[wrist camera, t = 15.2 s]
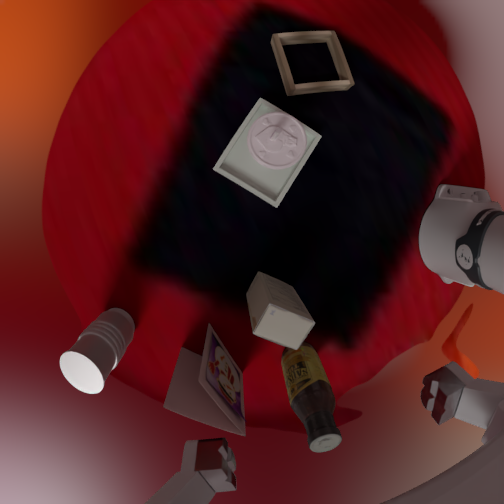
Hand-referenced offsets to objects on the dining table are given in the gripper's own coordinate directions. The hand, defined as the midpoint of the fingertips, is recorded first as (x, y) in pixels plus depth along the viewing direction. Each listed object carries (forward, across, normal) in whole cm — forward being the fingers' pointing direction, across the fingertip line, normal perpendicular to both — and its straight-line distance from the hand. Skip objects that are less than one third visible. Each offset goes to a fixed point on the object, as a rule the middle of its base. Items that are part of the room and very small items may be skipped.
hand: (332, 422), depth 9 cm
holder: (+33, +14, +26) cm, 44 cm away
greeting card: (+33, -12, -16) cm, 39 cm away
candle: (+33, -26, -7) cm, 43 cm away
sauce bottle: (+33, +2, -20) cm, 39 cm away
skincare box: (+33, 0, -7) cm, 34 cm away
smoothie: (+32, +4, +13) cm, 35 cm away
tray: (+33, +4, +13) cm, 36 cm away
